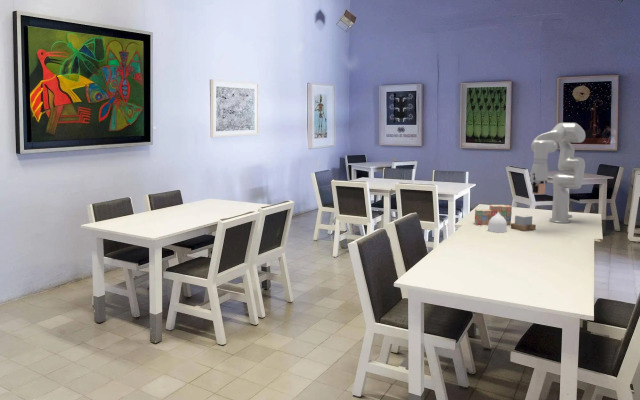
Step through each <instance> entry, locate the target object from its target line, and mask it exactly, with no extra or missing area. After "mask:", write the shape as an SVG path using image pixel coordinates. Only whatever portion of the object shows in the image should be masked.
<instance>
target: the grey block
mask: <svg viewBox="0 0 640 400" xmlns="http://www.w3.org/2000/svg"><path fill="white" fill-rule="evenodd" d="M514 223H515V224H518V225H523V226H525V225H532V224H533V216H532V215H526V214H519V215H515V216H514Z"/></svg>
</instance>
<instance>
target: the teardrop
mask: <svg viewBox="0 0 640 400" xmlns="http://www.w3.org/2000/svg"><path fill="white" fill-rule="evenodd" d="M487 231H488V232H490V233H495V234H497V233H498V234H500V233H501V234H503V233H507V232H508V225H507V222H506V220H505V219H504V217H502V216H501V215H500V214H499V212H498V213H497V214H496V215H495V216H493V217H492V218H491V219H490V220H489V223H488V225H487Z"/></svg>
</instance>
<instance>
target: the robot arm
mask: <svg viewBox="0 0 640 400" xmlns="http://www.w3.org/2000/svg"><path fill="white" fill-rule="evenodd" d="M585 140H586V132H585V130H584V129H583V127H582V126H581V125H579V124H578V123H577V122H559V123H557V124H555V126H553V128H552V129H551V130H550V131H547V132H544V133H541V134H538V135H537V136H536V137H535V138H534V139H533V140H532V143H531V145H530V148H531V151H532V152H533V164H532V166H531V170H530V178H529V179H530V180H529V181H530V183H531V185H532V190H533V193H538V186H537V185H538V183H543V184H547V182H548V181H549V177H548V176H549V169H548V168H549V166H548V158H549V157H548V156H549V155H548V154H552V153H554V152H556V150H557V148H558V144H559V150H560V151H559V156H558V163H557V169H558V171H561V172H558V173H555V174H554V175H553V177H552V187H553V194H552V195H553V196H552V209H551V210H552V211H551V218H548V219H549V220H548V221H549V222H551V223H557V224H569V223H570V222H571V220H570V218H571V219H572V218H573V214H569V207H570V206H569V205H570V193H569V191H568V190H567V189H570V190H578V189H581V187H582V186H583V182H584V181H583V180H584V177H585V176H584V174H585V170H586V163H585V159H584V158H582V157H578V156H577V157H575V148H574V146H573V145H572V143H583V142H584V141H585ZM565 172H566V173H565ZM567 172H568V173H567ZM533 193H532V194H533Z"/></svg>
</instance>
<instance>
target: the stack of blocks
mask: <svg viewBox="0 0 640 400" xmlns="http://www.w3.org/2000/svg"><path fill="white" fill-rule="evenodd" d="M512 211H513V210H512V206H511V205H508V204H507V205H506V204H490V205H489V209H487V208H486V209H485V208H484V209H483V208H481V209H480V208H479V209H478V208H477V209H476V208H475V210H474V224H475V225H478V226H488V223H489V220H490V219H491V218H492V217H493V216H495V215H496V214H497V213H498V212H499V214H500V215H501V216H502V217H504V219H505V220H506V222H507V226H511V223H512Z"/></svg>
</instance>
